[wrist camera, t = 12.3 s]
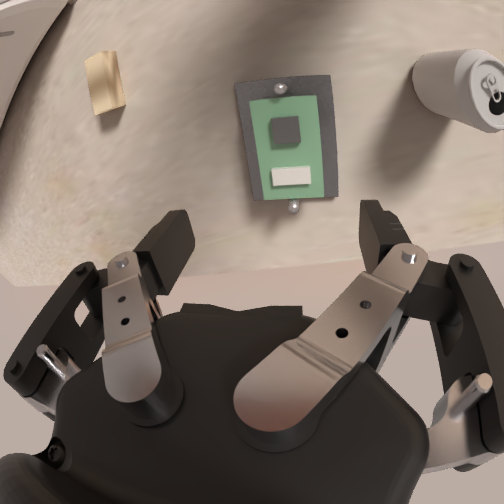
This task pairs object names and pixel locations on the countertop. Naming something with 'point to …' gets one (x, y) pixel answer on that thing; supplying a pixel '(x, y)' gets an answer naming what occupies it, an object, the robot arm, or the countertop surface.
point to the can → (462, 87)
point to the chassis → (323, 92)
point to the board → (288, 146)
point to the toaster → (22, 39)
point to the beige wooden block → (104, 82)
